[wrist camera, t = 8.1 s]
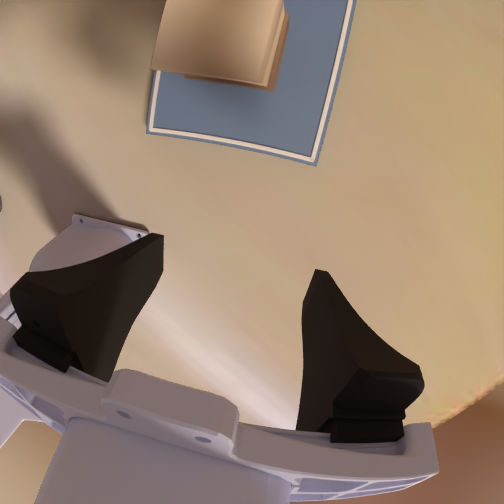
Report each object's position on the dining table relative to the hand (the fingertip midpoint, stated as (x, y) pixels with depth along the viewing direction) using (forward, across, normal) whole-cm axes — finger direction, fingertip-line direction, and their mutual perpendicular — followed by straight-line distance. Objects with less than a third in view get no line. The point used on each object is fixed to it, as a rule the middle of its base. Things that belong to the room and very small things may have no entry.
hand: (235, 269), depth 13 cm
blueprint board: (+10, +3, -11) cm, 15 cm away
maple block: (+5, +3, -11) cm, 12 cm away
